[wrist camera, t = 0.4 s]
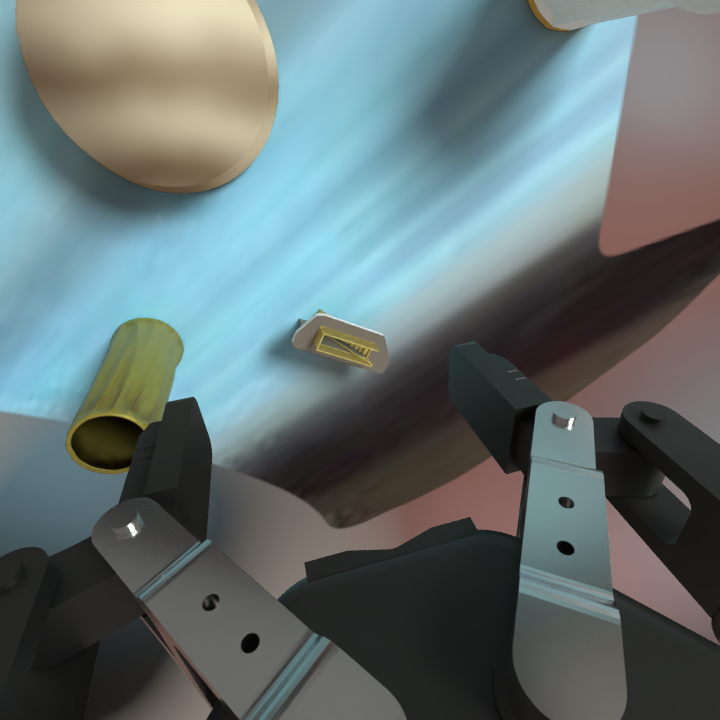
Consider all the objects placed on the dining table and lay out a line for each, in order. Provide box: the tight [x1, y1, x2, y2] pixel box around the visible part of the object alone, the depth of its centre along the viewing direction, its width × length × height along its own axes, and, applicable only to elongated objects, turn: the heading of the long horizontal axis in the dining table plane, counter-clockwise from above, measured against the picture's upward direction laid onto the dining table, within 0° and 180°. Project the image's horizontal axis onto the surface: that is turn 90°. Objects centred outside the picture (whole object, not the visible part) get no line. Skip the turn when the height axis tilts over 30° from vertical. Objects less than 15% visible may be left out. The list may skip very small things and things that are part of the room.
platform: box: [292, 309, 390, 373], centre depth 41 cm, size 12×18×7 cm, turn 64°
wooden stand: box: [16, 0, 279, 193], centre depth 28 cm, size 16×16×5 cm
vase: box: [66, 318, 184, 474], centre depth 34 cm, size 6×6×14 cm
